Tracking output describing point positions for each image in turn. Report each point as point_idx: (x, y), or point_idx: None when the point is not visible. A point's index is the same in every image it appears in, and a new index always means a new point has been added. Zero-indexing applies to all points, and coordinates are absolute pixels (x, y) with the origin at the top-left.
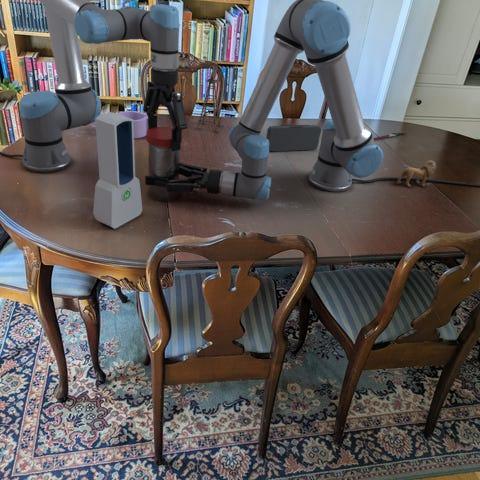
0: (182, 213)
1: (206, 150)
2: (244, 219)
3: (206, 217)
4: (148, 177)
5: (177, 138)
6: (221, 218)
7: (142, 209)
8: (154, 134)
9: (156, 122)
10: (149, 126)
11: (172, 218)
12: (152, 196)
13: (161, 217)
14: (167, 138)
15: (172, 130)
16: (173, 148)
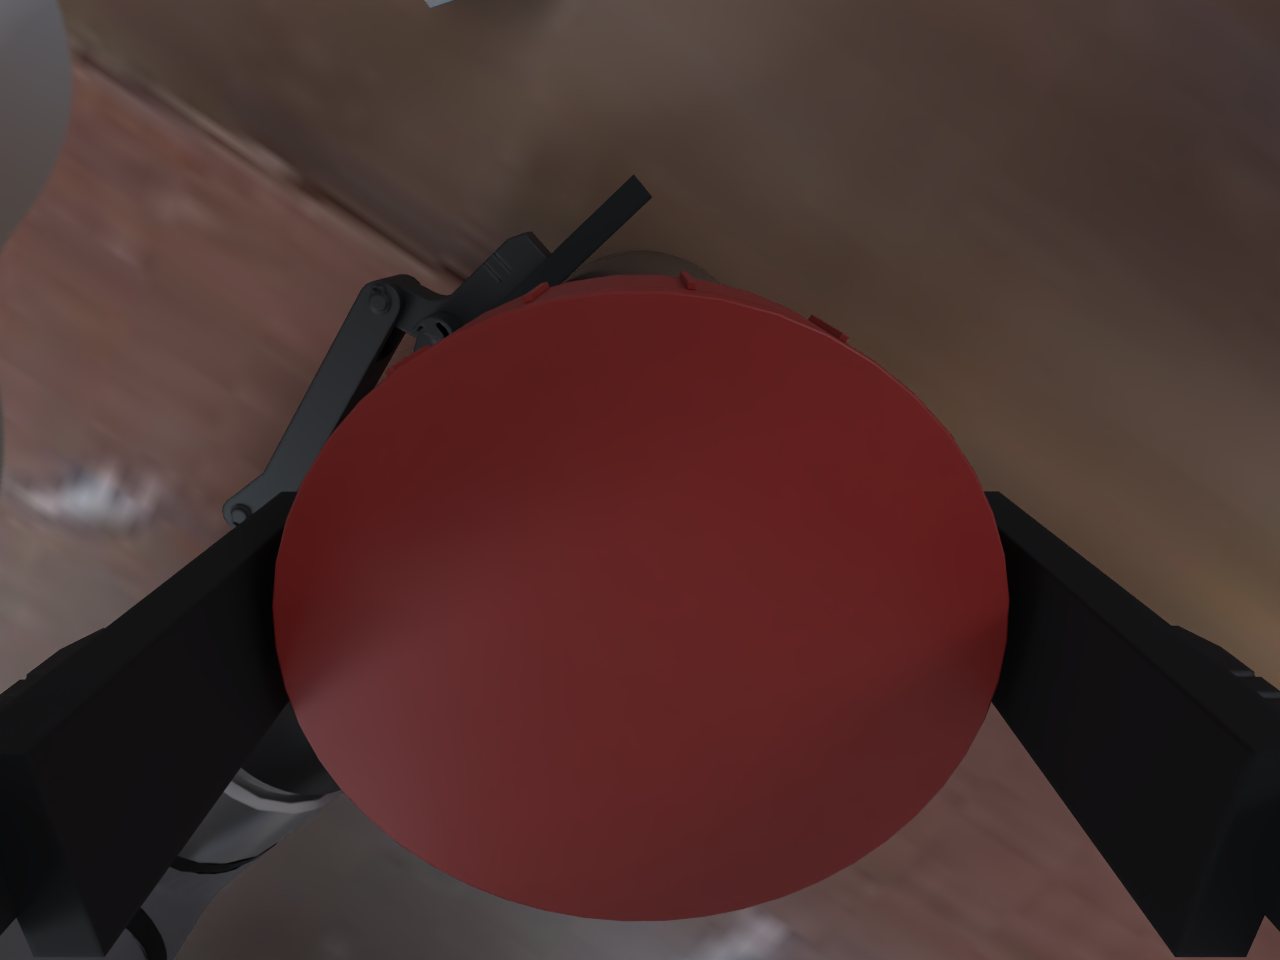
0: (317, 310)
1: (1003, 950)
2: (86, 600)
3: (198, 419)
4: (606, 202)
5: (40, 666)
6: (149, 493)
7: (429, 6)
8: (670, 453)
9: (1073, 792)
10: (1081, 594)
11: (279, 198)
12: (629, 252)
13: (328, 130)
14: (338, 559)
15: (11, 732)
16: (254, 519)
